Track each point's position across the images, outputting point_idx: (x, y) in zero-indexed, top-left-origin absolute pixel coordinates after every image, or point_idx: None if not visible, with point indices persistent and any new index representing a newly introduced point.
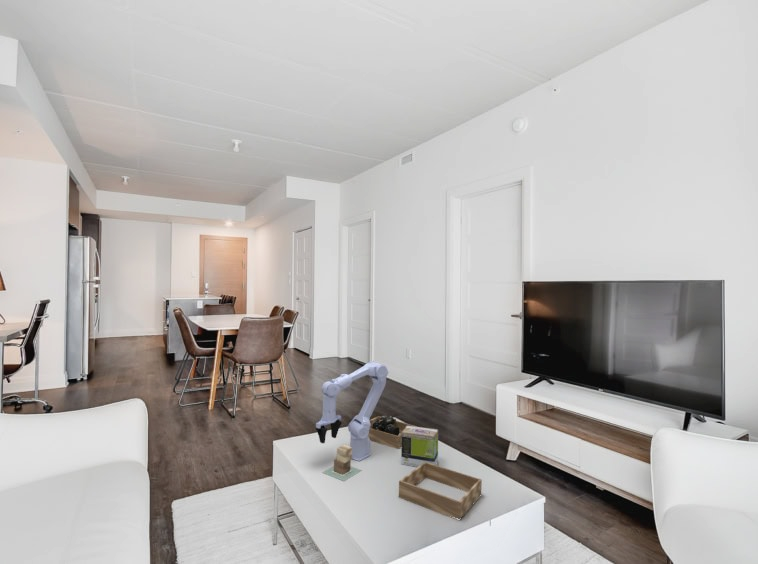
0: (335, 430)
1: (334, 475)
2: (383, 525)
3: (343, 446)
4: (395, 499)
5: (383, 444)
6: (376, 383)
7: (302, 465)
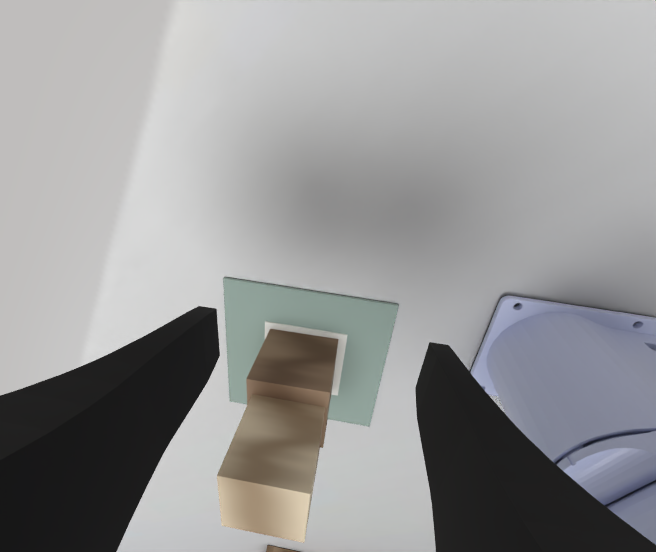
0: (438, 488)
1: (242, 347)
2: (132, 536)
3: (282, 498)
4: (250, 540)
5: None
6: None
7: (212, 87)
